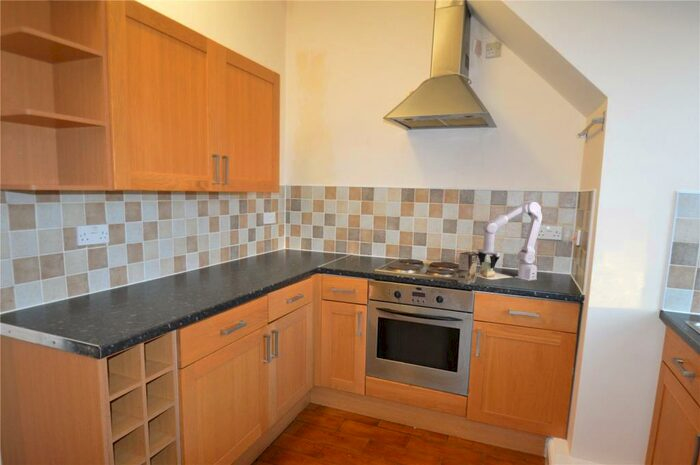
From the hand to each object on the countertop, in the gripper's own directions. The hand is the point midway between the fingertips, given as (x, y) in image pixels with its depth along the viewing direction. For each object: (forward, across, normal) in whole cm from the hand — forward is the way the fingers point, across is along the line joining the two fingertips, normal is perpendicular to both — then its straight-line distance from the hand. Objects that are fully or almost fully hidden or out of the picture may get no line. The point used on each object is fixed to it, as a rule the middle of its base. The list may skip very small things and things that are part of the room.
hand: (487, 266), depth 233 cm
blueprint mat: (+6, -1, +5) cm, 8 cm away
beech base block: (+6, 0, 0) cm, 6 cm away
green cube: (+2, 0, 0) cm, 2 cm away
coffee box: (+6, +5, -21) cm, 22 cm away
